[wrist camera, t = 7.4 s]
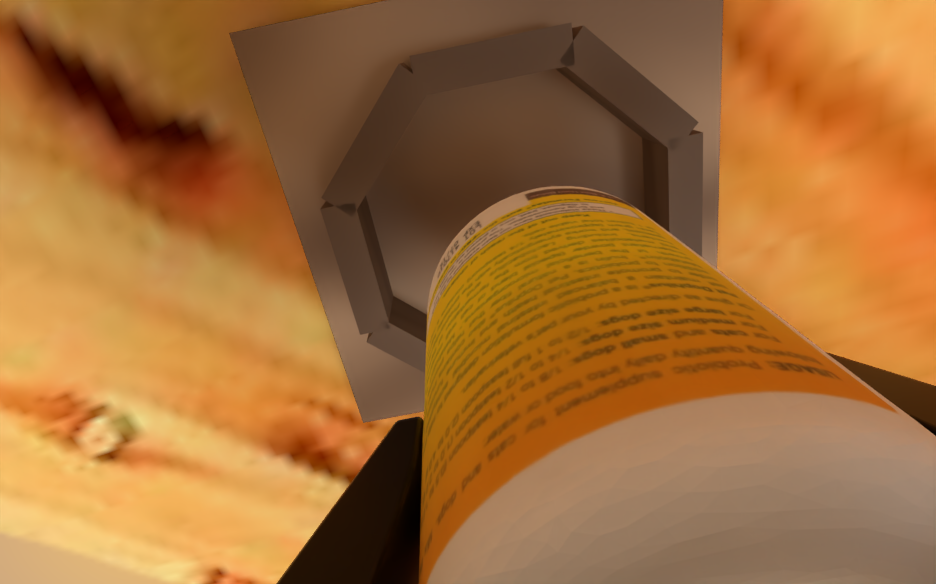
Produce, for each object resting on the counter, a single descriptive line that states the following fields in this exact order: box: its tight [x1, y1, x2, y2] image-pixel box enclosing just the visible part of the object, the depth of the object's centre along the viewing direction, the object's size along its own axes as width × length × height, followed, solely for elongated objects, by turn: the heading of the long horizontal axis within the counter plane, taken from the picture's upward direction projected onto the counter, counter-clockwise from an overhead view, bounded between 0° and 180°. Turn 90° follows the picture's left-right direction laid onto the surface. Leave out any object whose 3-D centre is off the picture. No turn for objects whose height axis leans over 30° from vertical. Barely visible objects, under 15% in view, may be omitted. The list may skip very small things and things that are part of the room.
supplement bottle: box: [419, 186, 936, 584], centre depth 7 cm, size 6×6×10 cm
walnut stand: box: [229, 0, 723, 423], centre depth 17 cm, size 14×14×4 cm
